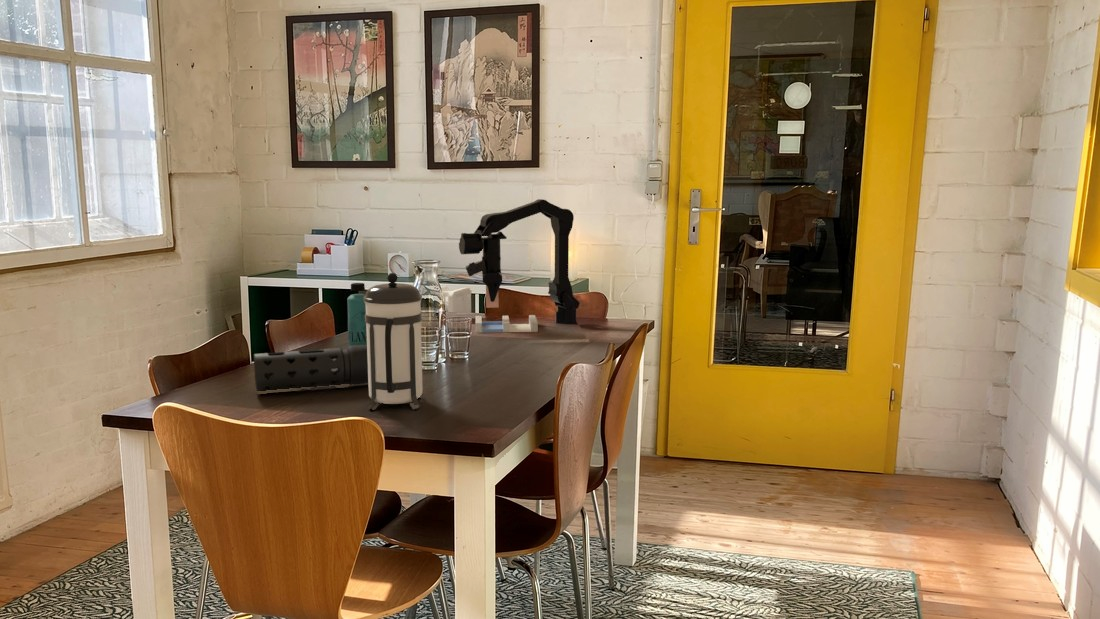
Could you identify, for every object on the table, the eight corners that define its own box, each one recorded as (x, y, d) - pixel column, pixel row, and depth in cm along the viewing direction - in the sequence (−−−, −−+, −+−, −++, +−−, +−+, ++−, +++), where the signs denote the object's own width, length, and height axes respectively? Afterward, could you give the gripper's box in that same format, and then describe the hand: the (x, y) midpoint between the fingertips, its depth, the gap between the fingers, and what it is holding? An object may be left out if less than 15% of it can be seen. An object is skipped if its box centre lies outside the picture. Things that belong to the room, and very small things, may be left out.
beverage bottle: (344, 352, 251) (341, 284, 248) (354, 347, 257) (352, 281, 254) (364, 353, 249) (362, 284, 246) (374, 348, 256) (372, 281, 252)
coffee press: (345, 405, 194) (340, 273, 189) (404, 392, 205) (400, 267, 200) (389, 420, 182) (384, 280, 177) (449, 406, 193) (446, 274, 188)
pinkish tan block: (498, 305, 284) (497, 278, 282) (498, 307, 280) (498, 280, 278) (486, 305, 283) (485, 278, 282) (486, 307, 279) (485, 280, 278)
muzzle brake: (255, 391, 207) (253, 349, 205) (372, 381, 217) (370, 340, 215) (256, 400, 198) (254, 357, 197) (378, 390, 208) (377, 348, 206)
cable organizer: (446, 316, 311) (445, 285, 309) (472, 318, 308) (472, 286, 306) (426, 323, 297) (426, 290, 295) (454, 325, 294) (453, 292, 292)
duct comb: (534, 326, 291) (534, 315, 290) (537, 334, 277) (537, 322, 277) (475, 327, 289) (475, 315, 289) (475, 335, 276) (475, 323, 275)
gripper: (467, 250, 287) (468, 296, 290) (466, 256, 269) (467, 305, 271) (500, 250, 288) (501, 296, 291) (501, 255, 270) (502, 304, 272)
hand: (492, 300), depth 281 cm, fingers closed on pinkish tan block, 4 cm apart
